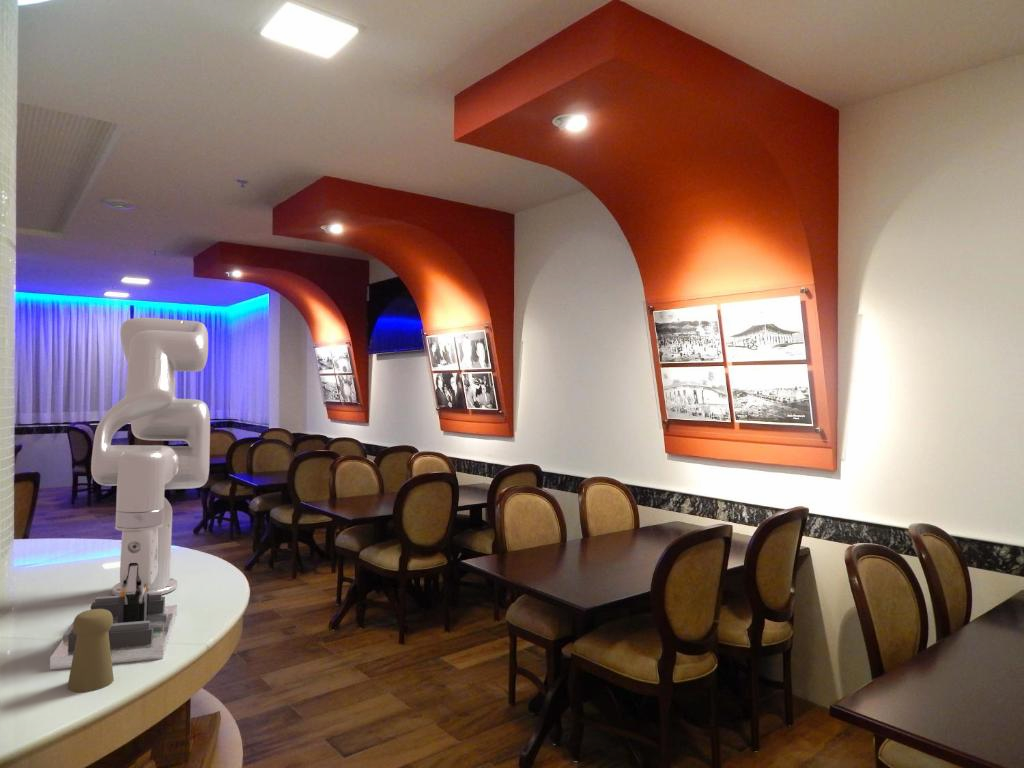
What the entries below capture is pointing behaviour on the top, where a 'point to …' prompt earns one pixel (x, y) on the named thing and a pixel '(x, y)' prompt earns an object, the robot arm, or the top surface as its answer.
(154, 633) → the panel
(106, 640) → the cork
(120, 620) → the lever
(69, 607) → the top surface
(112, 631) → the long gray rail
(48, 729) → the top surface
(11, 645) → the top surface
